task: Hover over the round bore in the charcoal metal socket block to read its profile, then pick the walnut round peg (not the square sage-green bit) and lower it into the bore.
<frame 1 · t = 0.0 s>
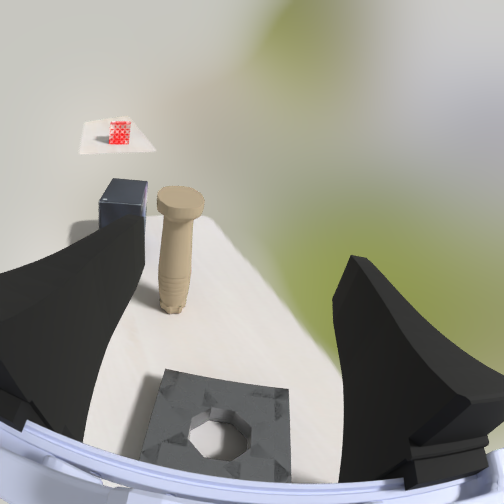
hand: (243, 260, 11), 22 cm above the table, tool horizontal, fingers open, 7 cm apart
small box: (124, 251, 50), on the table
handle: (172, 308, 40), on the table
puzzle cube: (119, 142, 113), on the table
socket block: (217, 444, 25), on the table
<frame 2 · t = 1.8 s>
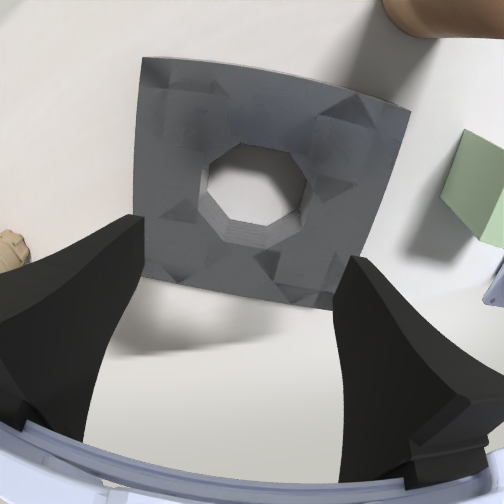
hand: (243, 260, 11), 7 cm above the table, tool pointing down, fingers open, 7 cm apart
handle: (17, 243, 21), on the table
walnut peg: (417, 3, 11), on the table
socket block: (256, 181, 17), on the table
square bit: (478, 174, 16), on the table
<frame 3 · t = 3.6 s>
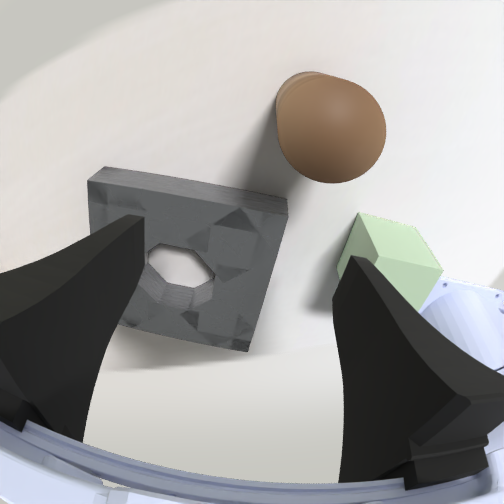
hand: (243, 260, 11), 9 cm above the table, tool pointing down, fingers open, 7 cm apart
walnut peg: (311, 105, 17), on the table
socket block: (182, 258, 23), on the table
square bit: (376, 247, 21), on the table
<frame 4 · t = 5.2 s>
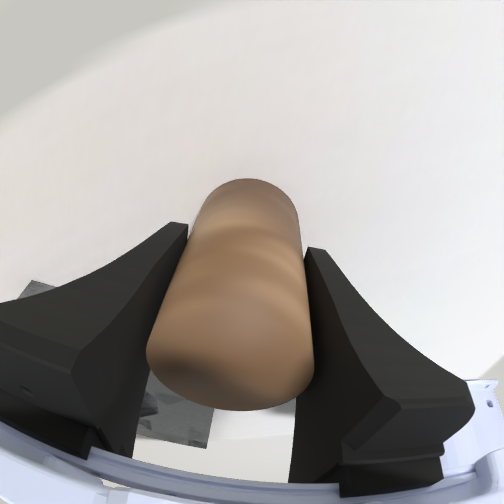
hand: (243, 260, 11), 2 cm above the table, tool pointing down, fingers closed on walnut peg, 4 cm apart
walnut peg: (248, 225, 13), on the table, touching gripper
socket block: (128, 367, 19), on the table
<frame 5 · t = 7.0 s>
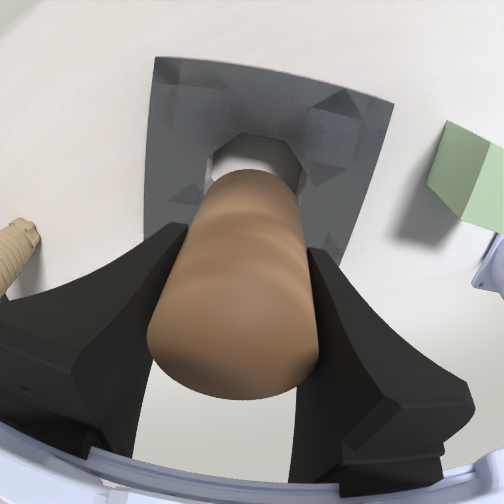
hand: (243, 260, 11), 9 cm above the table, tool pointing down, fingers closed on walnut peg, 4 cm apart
handle: (28, 231, 22), on the table
walnut peg: (250, 216, 13), point 7 cm above the table, touching gripper
socket block: (256, 168, 19), on the table
square bit: (462, 162, 17), on the table
when the fingers open (3 cm above the table, at t = 8.7 s): walnut peg stays where it is, resting in socket block.
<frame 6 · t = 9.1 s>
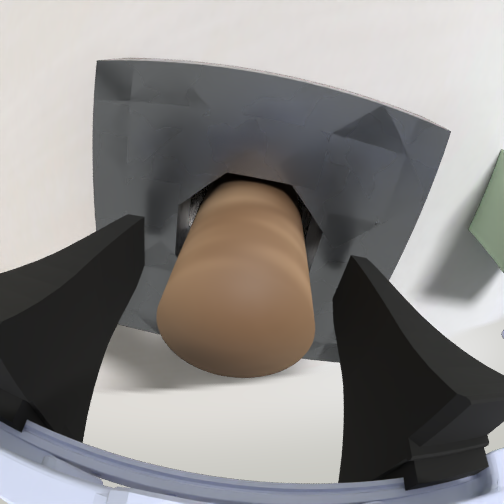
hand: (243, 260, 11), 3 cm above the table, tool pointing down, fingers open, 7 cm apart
walnut peg: (251, 207, 14), resting in socket block
socket block: (250, 214, 14), on the table
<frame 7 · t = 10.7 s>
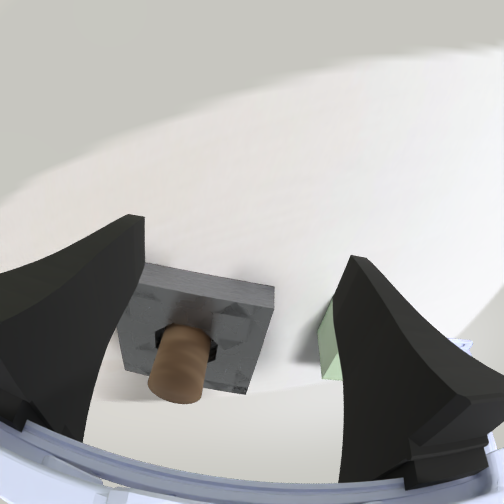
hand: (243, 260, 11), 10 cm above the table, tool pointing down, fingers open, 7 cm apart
walnut peg: (191, 323, 27), resting in socket block
socket block: (191, 325, 27), on the table
square bit: (350, 317, 26), on the table
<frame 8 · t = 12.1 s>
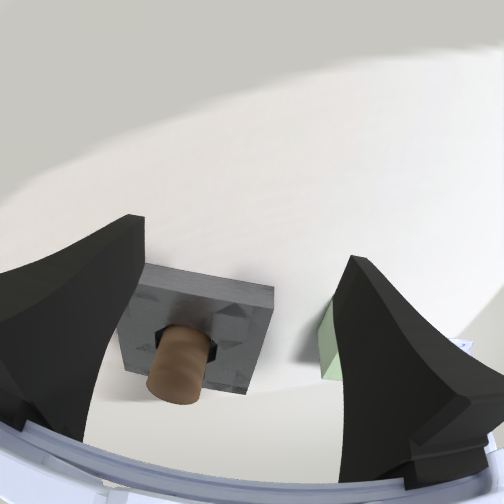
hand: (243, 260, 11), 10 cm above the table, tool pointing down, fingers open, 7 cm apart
walnut peg: (191, 323, 27), resting in socket block
socket block: (190, 326, 27), on the table
square bit: (350, 317, 26), on the table
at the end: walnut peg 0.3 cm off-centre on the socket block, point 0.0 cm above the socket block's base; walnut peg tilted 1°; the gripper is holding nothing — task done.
